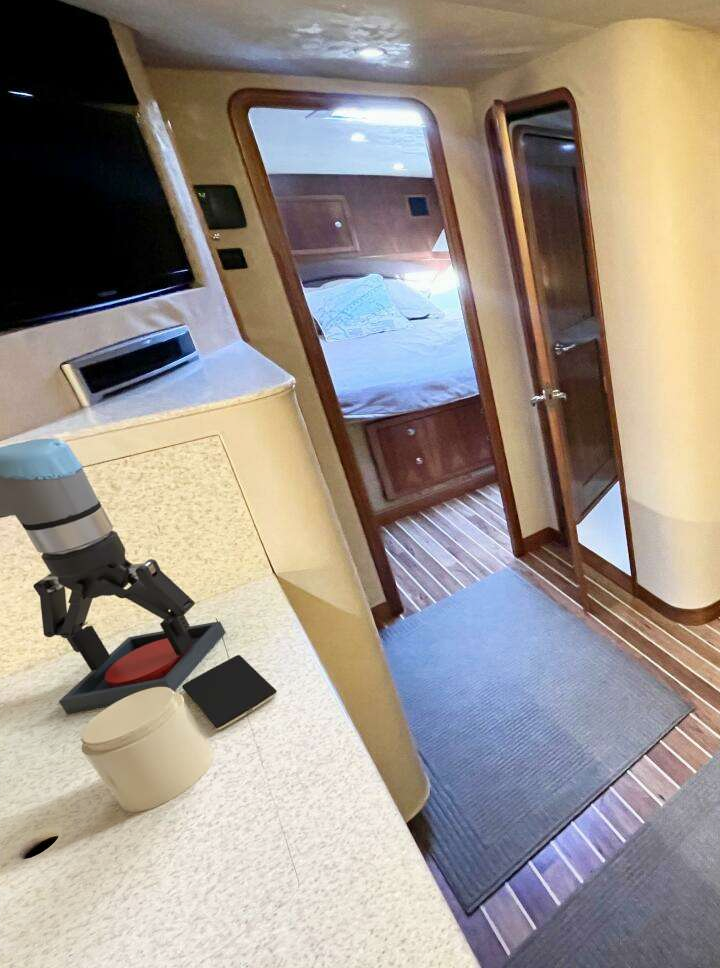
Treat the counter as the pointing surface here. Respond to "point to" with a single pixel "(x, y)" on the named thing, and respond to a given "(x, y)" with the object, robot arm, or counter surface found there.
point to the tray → (99, 693)
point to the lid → (144, 664)
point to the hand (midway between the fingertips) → (143, 656)
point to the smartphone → (229, 691)
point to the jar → (147, 748)
